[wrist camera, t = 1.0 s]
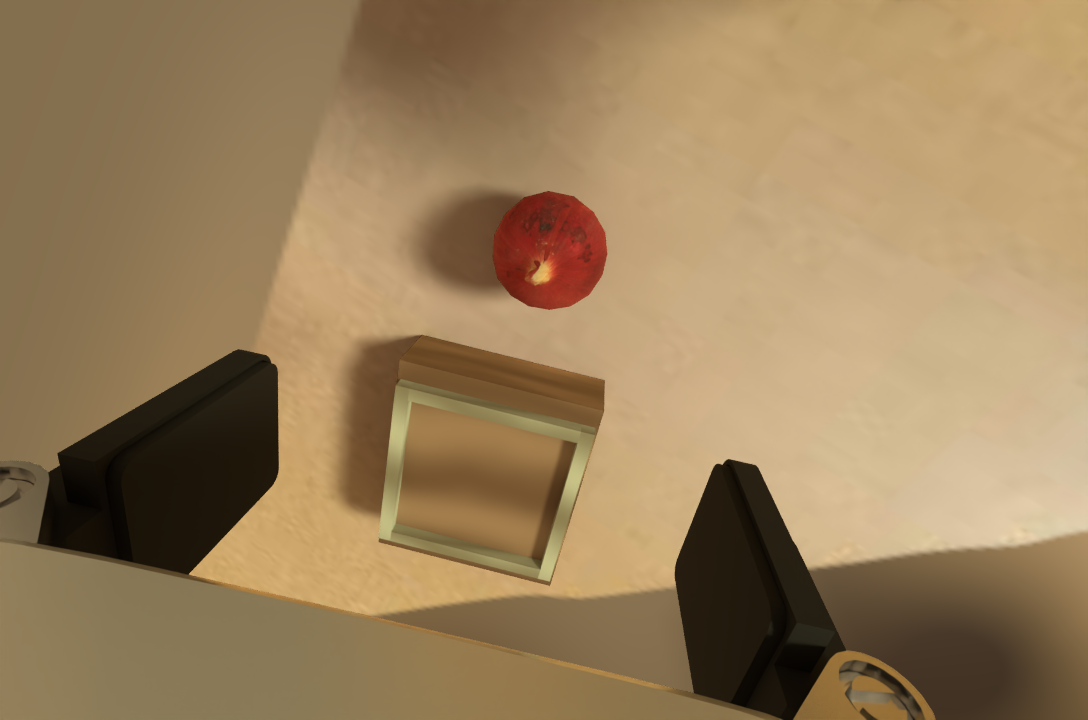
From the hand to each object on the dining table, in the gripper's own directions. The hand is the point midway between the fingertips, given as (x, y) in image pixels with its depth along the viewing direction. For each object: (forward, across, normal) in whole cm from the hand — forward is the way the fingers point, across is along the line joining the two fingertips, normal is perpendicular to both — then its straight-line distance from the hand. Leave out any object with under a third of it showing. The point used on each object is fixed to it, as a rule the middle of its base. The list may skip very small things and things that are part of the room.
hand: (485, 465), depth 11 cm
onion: (+22, 0, -1) cm, 22 cm away
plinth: (+22, +2, +14) cm, 26 cm away
